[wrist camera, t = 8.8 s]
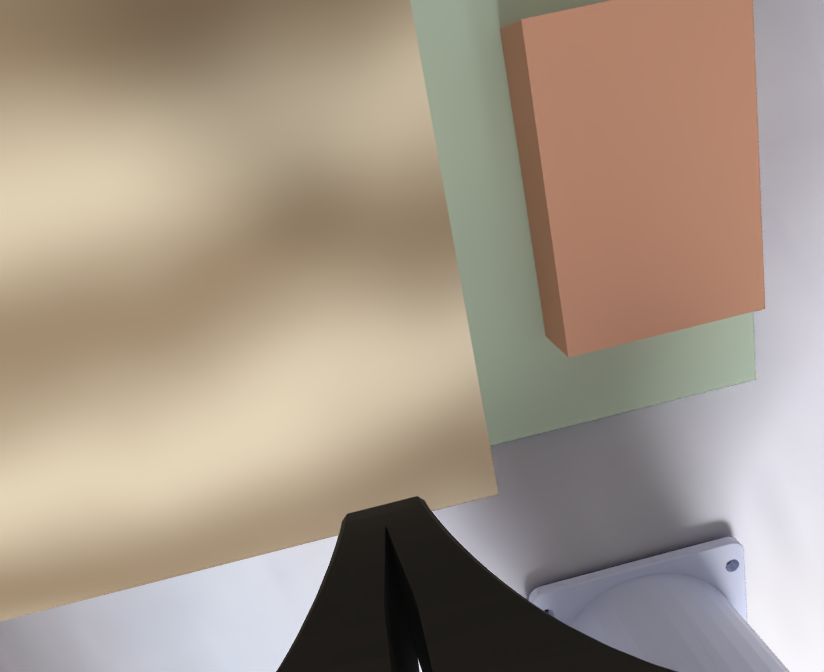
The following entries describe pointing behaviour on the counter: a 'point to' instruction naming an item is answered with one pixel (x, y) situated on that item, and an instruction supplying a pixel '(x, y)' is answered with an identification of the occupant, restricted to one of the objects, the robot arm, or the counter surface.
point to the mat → (513, 253)
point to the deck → (219, 288)
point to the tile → (639, 166)
